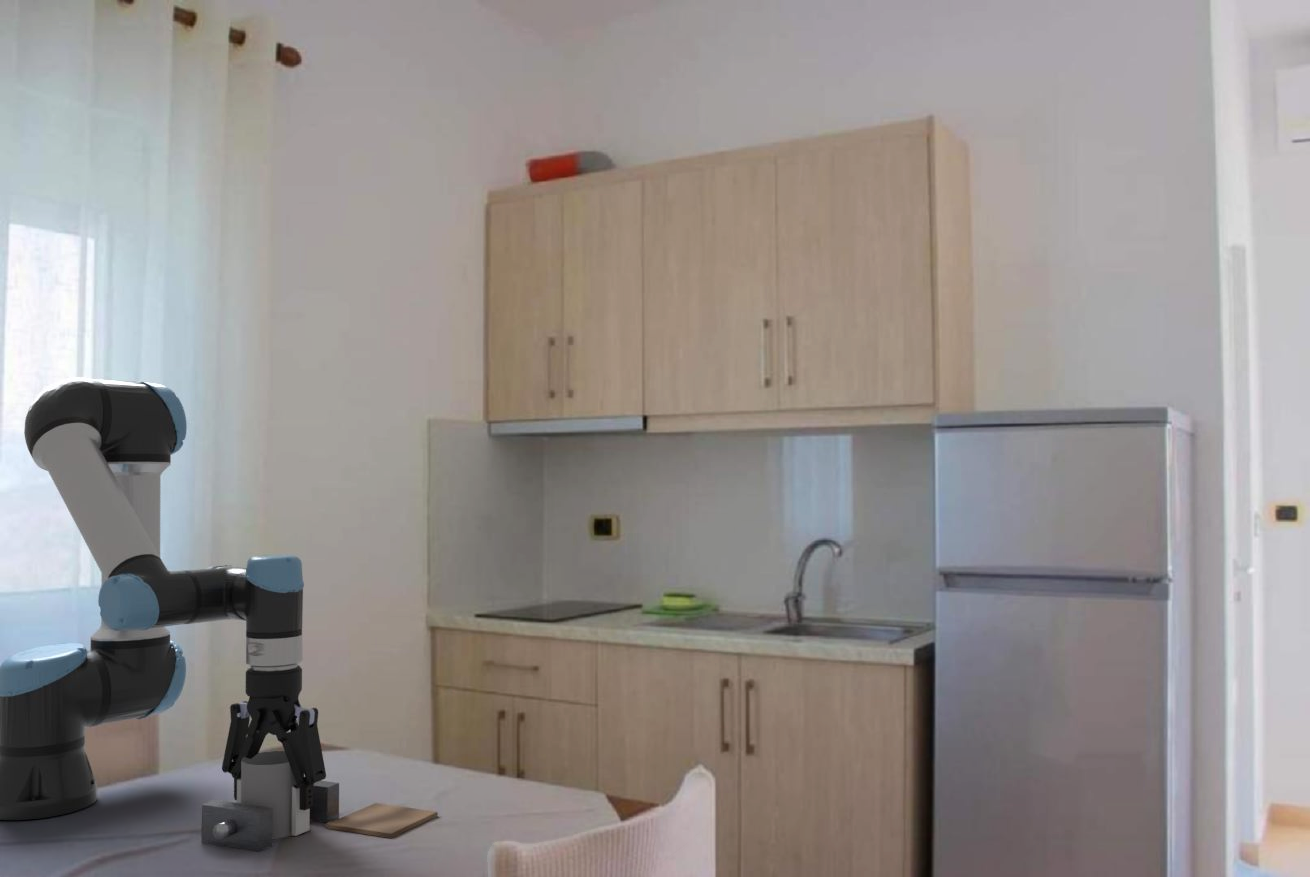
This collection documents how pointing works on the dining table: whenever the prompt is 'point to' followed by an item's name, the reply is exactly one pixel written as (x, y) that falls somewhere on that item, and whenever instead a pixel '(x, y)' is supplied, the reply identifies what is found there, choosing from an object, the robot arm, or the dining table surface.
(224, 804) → the vise jaws
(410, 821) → the board
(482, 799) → the dining table surface
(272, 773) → the cup
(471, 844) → the dining table surface
